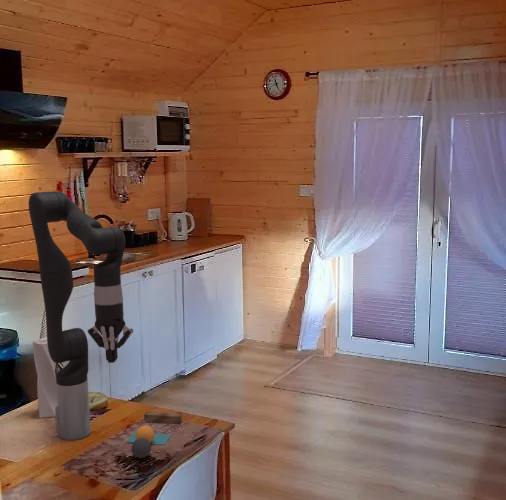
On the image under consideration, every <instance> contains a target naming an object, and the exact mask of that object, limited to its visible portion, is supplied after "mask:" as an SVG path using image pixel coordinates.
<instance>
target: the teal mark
mask: <svg viewBox="0 0 506 500" xmlns="http://www.w3.org/2000/svg"><path fill="white" fill-rule="evenodd" d="M172 435H173V434H168V433H155V432H154V439H153V440H152V442H151V443H150V444H151V445H157V446H158V445H159V446H165V445H166V444H167V442H168V441H169V440H170V439H171V437H172ZM135 440H136V431H134V432H133V433H132V435H131V436H130V437H128V439H127V441H126V443H130V444H131V443H132V444H133V442H134V441H135Z"/></svg>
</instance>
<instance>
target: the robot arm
mask: <svg viewBox="0 0 506 500" xmlns="http://www.w3.org/2000/svg"><path fill="white" fill-rule="evenodd" d="M28 213H29V217H30V222H31V227H32V231H33V232H32V233H33V235H34V239H35V244H36V245H35V246H36V252H37V258H38V269H39V277H40V283H41V290H42V296H43V302H44V309H45V310H44V311H45V323H46V337H47V344H48V351H49V354H50V357H51V359H52V360H53V362H55V363H56V364H61V363H65V362H67V364H66V365H65V366H64V367H63V368H61V369H59V370H58V371H57V373H55V374H56V385H57V399H58V406H56V408H55V412H56V417H55V421H56V422H55V424H56V426H55V427H56V437H57V438H61V439H62V440H67V441H74V440H75V441H76V440H81V439H84V438H86V437H87V436H90V434H91V432H92V431H91V430H92V429H91V414H90V412H91V410H89V395H88V392H89V383H88V374H89V342H88V341H89V340H88V337H87V335H86V332H85V330H83V329H82V328H81V327H74V328H69V329H64V330H63V316H64V313H65V312H64V311H65V309H66V307H67V305H68V302H69V300H70V299H71V295H72V293H73V289H74V278H73V270H72V265H71V261H70V260H69V259H68V257H67V256H66V254H65V253H64V252H63V251H62V250H61V249H60V247H58V245H57V244H56V243H55V240H54V239H53V237H52V235H51V232H50V228H49V224H48V223H57V222H61V221H63V222H66V227H67V230H68V232H69V233H70V234H71V235H72V236H73V237H75V238H76V239H77V240H80V241H81V242H82V245H83V246H84V247H85V249H86V251H87V252H88V253H89V254H92V255H95V256H100V255H105V254H107V255H106V258H105V259H104V260H103V261H100V262H98V263H96V264H95V265H94V266H93V282H94V290H93V291H94V292H93V299H94V300H93V301H94V315H95V317H94V318H95V322H94V325H93V326H92V327H91V328H88V329H87V333H88V335H89V336H90V337H91V338H92V340H93V341H94V342H95V344H96V345H97V346H98V347H99V348H103V349H104V350H105V360H106V361H107V363H110V364H113V363H115V362H116V361H117V360H118V356H119V355H118V349H120V348H122V346H124V345H125V343H126V342H127V340H128V339H129V338H130V337H131V335H132V334H133V332H134V329H133V328H129V327H128V326H127V325H126V321H125V319H124V314H125V313H124V296H123V288H122V280H121V279H122V277H121V266H122V262H123V257H124V253H125V248H126V237H125V233H124V231H123V230H122V229H121V228H120V227H118V226H107V227H103V225H102V223H100V221H98V220H97V219H95V218H93V216H90V215H88V214H87V213H85V212H84V211H83V210H81V208H79V206H78V205H77V204H76V203H75V202H74V201H73V200H72V199H71V198H70V197H69V196H68V195H67V194H66V193H64V192H62V191H60V190H59V191H58V190H56V191H55V190H53V191H37V192H33V193H31V194H30V196H29V199H28ZM121 333H122V337H121V338H120V335H121ZM119 338H120V339H119Z"/></svg>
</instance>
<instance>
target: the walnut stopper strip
mask: <svg viewBox="0 0 506 500" xmlns="http://www.w3.org/2000/svg"><path fill="white" fill-rule="evenodd" d="M143 416H144V417H143V418H144V422H145V423H157V424H158V423H159V424H170V425H171V424H172V425H174V424H175V425H181V424H182V422H183V419H182V417H183V415H182V413H172V412H171V413H168V412H152V411H151V412H150V411H145V413H144V414H143Z"/></svg>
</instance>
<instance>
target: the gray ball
mask: <svg viewBox="0 0 506 500" xmlns="http://www.w3.org/2000/svg"><path fill="white" fill-rule="evenodd" d="M151 450H152V444H150V442H149V441H148V440H147V439H145V438H138V439H136V440H135V441H134V442H133V443H132V444H131V452H132V454H133V455H134V457H136V458H138V459H143V458H144V459H145V457H147V456H149V454H150V453H151Z"/></svg>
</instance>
